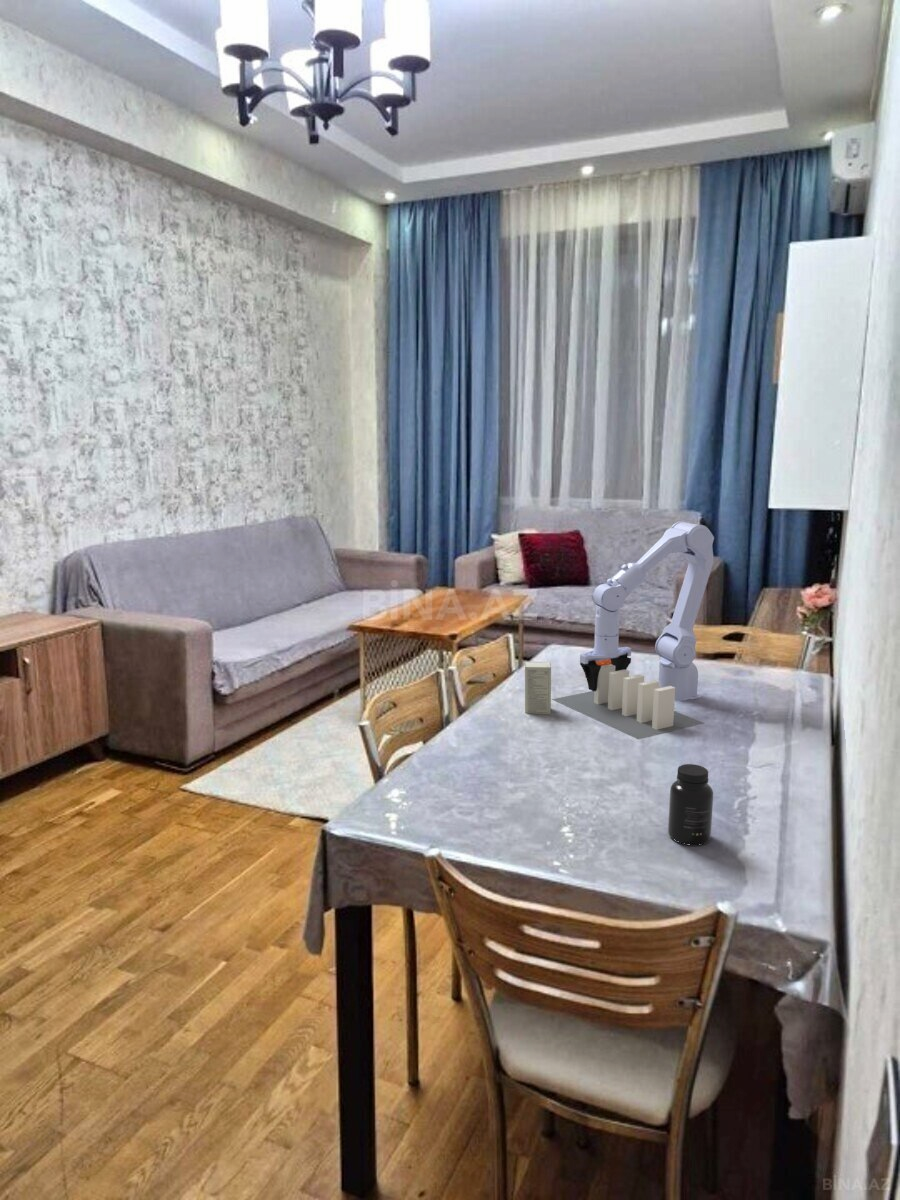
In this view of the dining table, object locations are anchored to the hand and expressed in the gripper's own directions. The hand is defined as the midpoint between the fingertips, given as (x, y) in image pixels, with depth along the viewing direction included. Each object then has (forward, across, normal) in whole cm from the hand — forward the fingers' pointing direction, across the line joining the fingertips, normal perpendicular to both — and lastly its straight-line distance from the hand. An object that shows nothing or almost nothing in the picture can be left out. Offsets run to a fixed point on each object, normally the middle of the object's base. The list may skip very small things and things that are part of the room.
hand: (604, 687), depth 200 cm
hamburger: (+4, -13, -16) cm, 21 cm away
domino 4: (+4, 0, +15) cm, 15 cm away
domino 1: (+4, 0, 0) cm, 4 cm away
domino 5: (+4, 0, +20) cm, 20 cm away
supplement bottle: (+4, +32, +59) cm, 67 cm away
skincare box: (+4, +18, -3) cm, 19 cm away
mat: (+4, 0, +8) cm, 9 cm away
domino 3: (+4, 0, +10) cm, 11 cm away
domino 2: (+4, 0, +5) cm, 6 cm away
